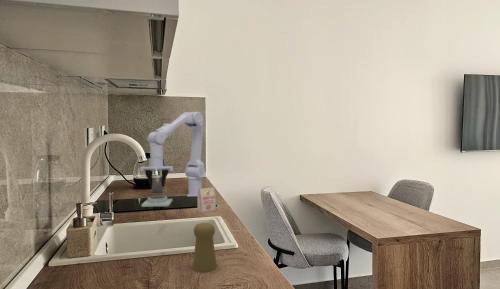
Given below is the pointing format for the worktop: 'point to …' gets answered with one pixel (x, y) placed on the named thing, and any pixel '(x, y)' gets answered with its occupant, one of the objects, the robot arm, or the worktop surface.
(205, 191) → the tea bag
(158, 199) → the collar mount
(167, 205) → the plate
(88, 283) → the worktop surface
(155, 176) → the lens barrel
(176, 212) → the worktop surface
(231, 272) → the worktop surface
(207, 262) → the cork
